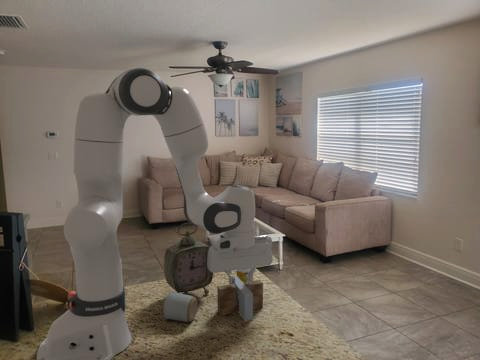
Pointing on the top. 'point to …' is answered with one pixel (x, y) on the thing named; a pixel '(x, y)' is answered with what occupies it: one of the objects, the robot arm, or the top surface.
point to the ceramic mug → (180, 307)
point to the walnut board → (231, 303)
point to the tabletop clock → (187, 264)
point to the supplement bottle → (243, 274)
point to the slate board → (244, 299)
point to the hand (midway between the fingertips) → (240, 281)
